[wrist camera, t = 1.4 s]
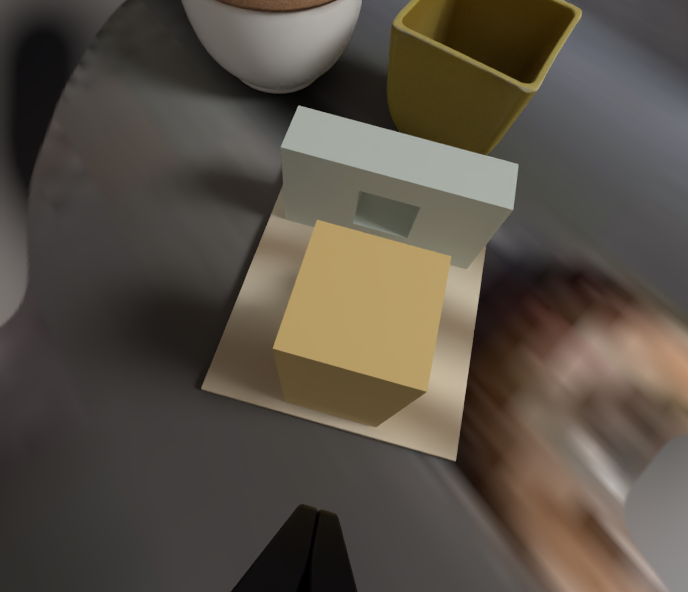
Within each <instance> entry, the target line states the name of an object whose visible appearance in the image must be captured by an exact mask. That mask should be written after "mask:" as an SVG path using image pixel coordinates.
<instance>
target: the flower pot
mask: <svg viewBox="0 0 688 592" xmlns="http://www.w3.org/2000/svg"><path fill="white" fill-rule="evenodd" d="M581 16H582V10H581V9H580V8H578V7H576V6H574V5H572V4H570V3H568V2H566V1H563V0H411V1H410V2H409V3H408V4H407V5H406V6H405V7H404V8H403V9H402V10H401V11H400V12H399V13H398V14H397V16H396V17H395V19H394V20H393V22H392V27H391V38H390V51H389V64H388V78H387V100H388V107H389V111H390V114H391V117H392V120H393V122H394V124H395V126H396V128H397V130H398V132H400V133H403V134H407V135H411V136H414V137H418V138H422V139H426V140H429V141H433V142H437V143H441V144H444V145H448V146H452V147H456V148H459V149H463V150H467V151H471V152H474V153H478V154H482V155H487V154H488V153H489V152H490V151H491V150H492V149H493V148H494V147H495V146H496V145H497V144H498V143H499V141H500V140H501V139H502V137H503V136H504V135H505V133H506V132H507V131H508V129H509V128H510V127H511V125H512V124H513V123H514V121H515V120H516V118H517V117H518V116H519V114H520V113H521V112H522V110H523V109H524V108H525V106H526V105H527V104H528V102H529V101H530V100H531V98H532V97H533V95H534V94H535V93H536V91H537V90H538V89H539V87H540V85H541V83H542V82H543V80H544V78H545V76H546V74H547V72H548V70H549V68H550V67H551V65H552V63H553V61H554V60H555V58H556V56H557V54H558V53H559V51H560V49H561V48H562V46H563V45H564V43H565V42H566V40H567V38H568V37H569V35H570V34H571V32H572V30H573V29H574V27H575V26H576V24H577V23H578V22H579V20H580V19H581Z"/></svg>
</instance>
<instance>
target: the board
mask: <svg viewBox="0 0 688 592" xmlns="http://www.w3.org/2000/svg"><path fill="white" fill-rule="evenodd" d="M313 230H314V227H311V226H307V225H303V224H300V223H296V222H292V221H289V220H286V219H285V204H284V189H283V186H282V188H281V191H280V193H279V196H278V198H277V201H276V203H275V206H274V208H273V211H272V213H271V216H270V218H269V221H268V223H267V226H266V228H265V231H264V233H263V236H262V238H261V241H260V243H259V246H258V248H257V251H256V253H255V256H254V258H253V261H252V263H251V266H250V268H249V271H248V273H247V276H246V278H245V281H244V283H243V286H242V288H241V291H240V293H239V296H238V298H237V301H236V303H235V305H234V308H233V310H232V313H231V315H230V318H229V320H228V323H227V325H226V328H225V330H224V333H223V335H222V338H221V340H220V343H219V345H218V348H217V350H216V353H215V355H214V358H213V360H212V363H211V365H210V368H209V370H208V373H207V375H206V378H205V380H204V383H203V385H202V388H201V389H202V390H203V391H206V392H209V393H213V394H216V395H220V396H223V397H227V398H230V399H234V400H237V401H241V402H244V403H248V404H251V405H255V406H258V407H262V408H265V409H269V410H273V411H276V412H280V413H283V414H287V415H290V416H294V417H297V418H301V419H304V420H308V421H311V422H315V423H318V424H322V425H325V426H329V427H332V428H336V429H340V430H343V431H347V432H350V433H354V434H357V435H361V436H364V437H368V438H371V439H375V440H378V441H382V442H385V443H389V444H392V445H396V446H399V447H403V448H407V449H410V450H414V451H417V452H421V453H424V454H428V455H431V456H435V457H438V458H442V459H445V460H449V461H456V455H457V448H458V441H459V434H460V427H461V420H462V413H463V406H464V398H465V391H466V384H467V377H468V370H469V363H470V356H471V349H472V342H473V334H474V327H475V320H476V313H477V306H478V299H479V292H480V285H481V277H482V270H483V263H484V256H485V249H486V245H485V247H484V248H483V249H482V251H481V252H480V253H479V254H478V256H477V257H476V258H475V259H474V261H473V262H472V263H471V265H470V266H469V267H468V268H467V269H464V268H460V267H457V266H453V265H450V267H449V272H448V278H447V283H446V289H445V295H444V300H443V306H442V311H441V317H440V323H439V328H438V334H437V340H436V345H435V351H434V356H433V362H432V368H431V373H430V379H429V384H428V390H427V392H426V393H425V394H423V395H422V396H421V397H419V398H418V399H416V400H415V401H413V402H412V403H410V404H409V405H408V406H406V407H405V408H403V409H402V410H400V411H399V412H398V413H396V414H395V415H393V416H392V417H390V418H389V419H388V420H386V421H385V422H383V423H382V424H380V425H379V426H377V427H373V426H369V425H366V424H362V423H359V422H355V421H352V420H348V419H344V418H341V417H337V416H334V415H330V414H327V413H323V412H320V411H316V410H313V409H309V408H306V407H302V406H299V405H295V404H291V403H288V402H285V400H284V396H283V391H282V387H281V383H280V378H279V374H278V370H277V365H276V361H275V357H274V352H273V346H274V343H275V340H276V337H277V334H278V331H279V328H280V326H281V323H282V320H283V317H284V314H285V311H286V308H287V305H288V302H289V299H290V297H291V294H292V291H293V288H294V285H295V282H296V279H297V276H298V273H299V270H300V268H301V265H302V262H303V259H304V256H305V253H306V250H307V247H308V244H309V241H310V238H311V236H312V233H313Z"/></svg>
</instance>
